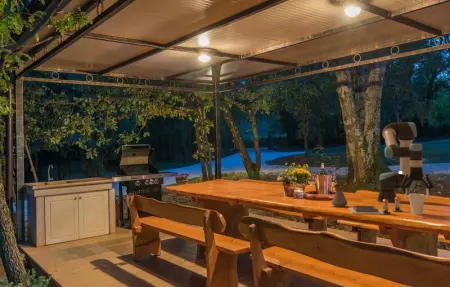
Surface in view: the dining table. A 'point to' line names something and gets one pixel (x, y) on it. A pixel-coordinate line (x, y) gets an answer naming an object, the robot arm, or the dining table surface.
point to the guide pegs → (397, 209)
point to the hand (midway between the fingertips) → (416, 198)
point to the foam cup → (417, 203)
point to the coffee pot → (339, 198)
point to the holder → (365, 210)
